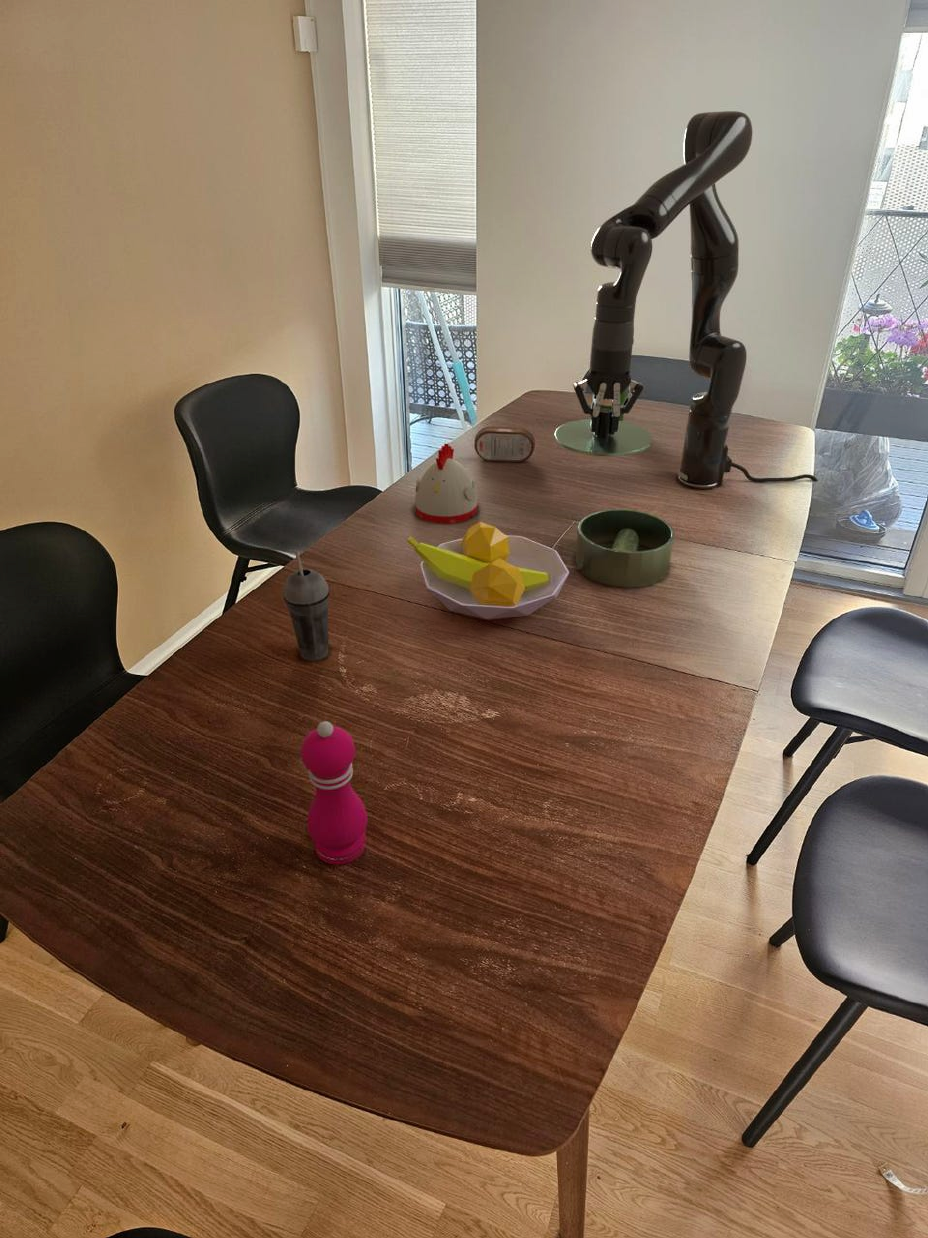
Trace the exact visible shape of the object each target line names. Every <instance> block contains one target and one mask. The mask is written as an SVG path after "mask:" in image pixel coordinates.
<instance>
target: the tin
mask: <svg viewBox="0 0 928 1238" xmlns="http://www.w3.org/2000/svg"><path fill="white" fill-rule="evenodd" d="M473 446H474V450H475V453H476V454H477V456H478V457H479V458H481V459H482V460H484V461H487V462H503V463H504V462H506V463H507V462H508V463H523V462H525V461H527V460H528V459H530V458H531V457H532V455H533V453H534V451H535V448H536V447H535V446H536V440H535V437H534V435H533V434H532V432H531V431H529V430H527V429H526V428H523V427H512V426H511V427H508V426H485V427H483V428H481V429H480V430H478V432H477V433H476V435H475V436H474V445H473Z"/></svg>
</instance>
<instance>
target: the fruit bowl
mask: <svg viewBox="0 0 928 1238" xmlns="http://www.w3.org/2000/svg"><path fill="white" fill-rule="evenodd" d="M406 542H407V543H409V545H411V547H413V548H414V550H413V551H414V552H415V553H416V554H417V556H419V558H420V559H421V560H422V561H421V563H420V564H419V565H420V568H421V572H422V575H423V579H424V583H425V585H426V588H427V591H429V593H431V594H432V595H433V596H434V597H435V598H436V599H437V600H438V601H439V602H440V603H441V604H442V605H444V606H445V608H447V609H448V610H449V611H451V612H455V613H459V614H462V615H463V614H464V615H468V616H472V617H475V618H480V619H485V620H496V619H505V618H516V617H525V616H526V617H527V616H529V615H532V614H533V613H534V612H535V611H537V610H539V609H541V608H542V607H543V606H545V605H547V604H548V603H549V602H552V601H553V600H555V599H556V598H558V595H559V594H560V591H561V590H562V588H563V587H564V584H565V582H566V580H567V578H568V576H569V574H570V570H569V569H568V568H567V566H566V564H565V563H564V562H563V560H562V558H561V556H560V554H559V552H558V551H557V550H556V549H553V548H551V547H549V546H547V545H544V544H541V543H539V542H538V541H537V542H536V541H534V540H532V539H529V538H527V537H524V536H523V535H507V534H505V533H504V532H502V531H501V530H500V529H499V528H497V527H496V526H495V525H492V524H489V523H485V522H483V521H478V522H477V523H475V524H474V525H472V526H470V527H469V528H468V529H467V530H466V532H465V534H464V536H463V537H462V538H458V539H455V540H451V541H447V542H443V543H440V544H439V545H437V546H434V545H431V544H427V543H423V542H418V541H417V540H415V539H414V537H412V536H408V537H407V538H406Z"/></svg>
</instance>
